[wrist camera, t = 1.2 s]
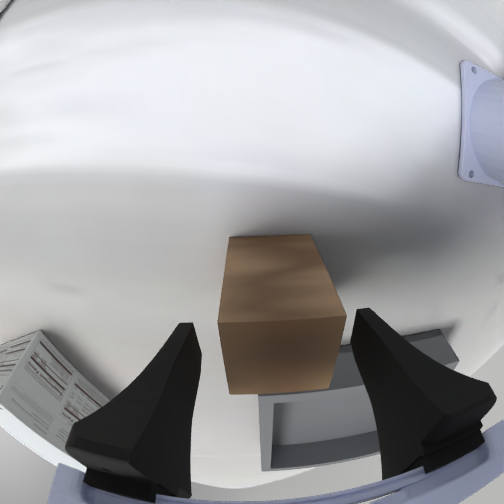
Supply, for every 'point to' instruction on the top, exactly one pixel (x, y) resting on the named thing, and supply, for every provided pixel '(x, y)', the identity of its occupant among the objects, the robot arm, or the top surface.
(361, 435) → the charcoal bin
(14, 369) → the supplement box
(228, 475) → the top surface
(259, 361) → the walnut block
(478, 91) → the robot arm
